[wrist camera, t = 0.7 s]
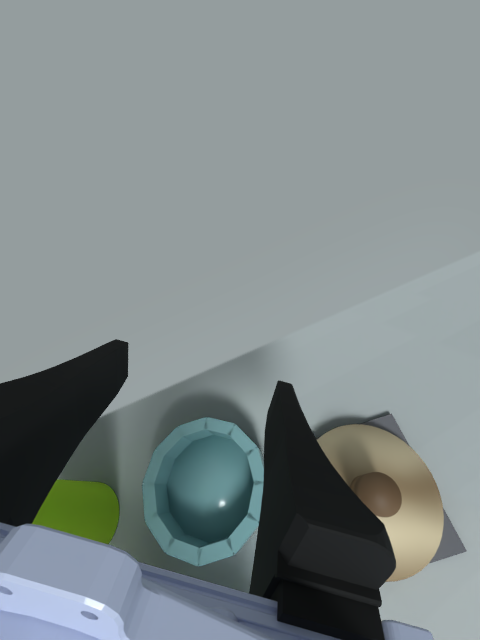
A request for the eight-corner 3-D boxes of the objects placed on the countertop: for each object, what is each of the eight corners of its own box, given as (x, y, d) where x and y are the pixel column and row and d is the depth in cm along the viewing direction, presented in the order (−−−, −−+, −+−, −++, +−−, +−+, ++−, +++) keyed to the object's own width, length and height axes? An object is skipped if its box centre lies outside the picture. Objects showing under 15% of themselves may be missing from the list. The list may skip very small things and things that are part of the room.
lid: (471, 553, 21) (514, 568, 17) (331, 598, 21) (340, 624, 17) (392, 410, 26) (410, 395, 22) (281, 446, 26) (279, 437, 22)
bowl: (285, 533, 23) (283, 539, 20) (168, 571, 23) (149, 582, 20) (250, 413, 29) (245, 404, 26) (154, 444, 28) (138, 438, 26)
